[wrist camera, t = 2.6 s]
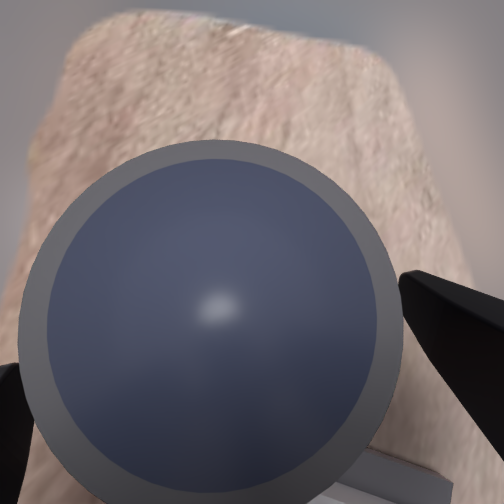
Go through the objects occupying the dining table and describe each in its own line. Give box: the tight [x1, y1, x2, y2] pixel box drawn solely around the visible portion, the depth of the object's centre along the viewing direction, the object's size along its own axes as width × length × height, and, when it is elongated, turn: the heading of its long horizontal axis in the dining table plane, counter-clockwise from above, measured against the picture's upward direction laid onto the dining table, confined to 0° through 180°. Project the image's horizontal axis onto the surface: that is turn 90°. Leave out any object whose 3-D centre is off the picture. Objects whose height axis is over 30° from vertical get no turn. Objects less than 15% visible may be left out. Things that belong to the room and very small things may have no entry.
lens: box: [18, 140, 403, 504], centre depth 10 cm, size 5×5×12 cm
